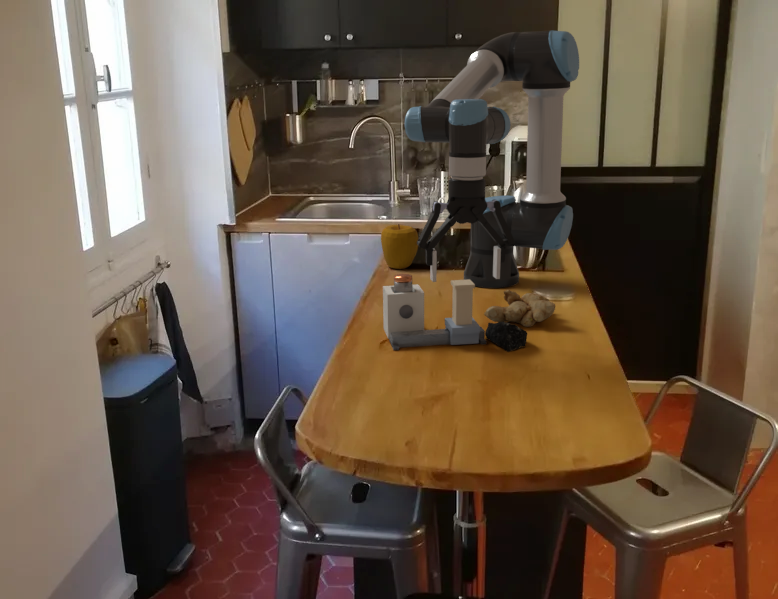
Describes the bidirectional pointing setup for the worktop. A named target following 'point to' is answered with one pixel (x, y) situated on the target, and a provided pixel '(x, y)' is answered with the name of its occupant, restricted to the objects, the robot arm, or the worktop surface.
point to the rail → (425, 338)
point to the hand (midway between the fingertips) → (464, 279)
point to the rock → (506, 335)
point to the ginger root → (522, 309)
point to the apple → (399, 245)
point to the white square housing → (403, 310)
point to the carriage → (462, 314)
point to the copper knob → (402, 283)
